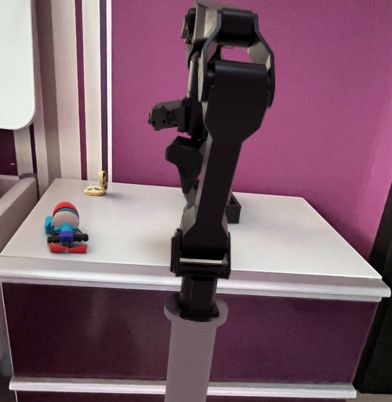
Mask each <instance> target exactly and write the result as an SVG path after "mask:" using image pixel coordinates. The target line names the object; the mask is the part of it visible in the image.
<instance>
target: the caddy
mask: <svg viewBox="0 0 392 402" xmlns="http://www.w3.org/2000/svg"><path fill="white" fill-rule="evenodd" d="M199 180H200V178H198V179H197V181H196V182H195V184H194V186H193V188H192V189H191V191H190V193H189V194H184V193H183V196H184V198H185V200H186V202H187V204H195V201H196V196H197V191H198V186H199ZM241 211H242V205H241V203H240V202H239V200H238V199H237V197H236V196H235V195H234V193H233V192H232V191H231V197H230V204H227V205H226V209H225V215H226V217H227V224H239V223H240V219H241V218H240V217H241V213H242V212H241Z"/></svg>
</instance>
